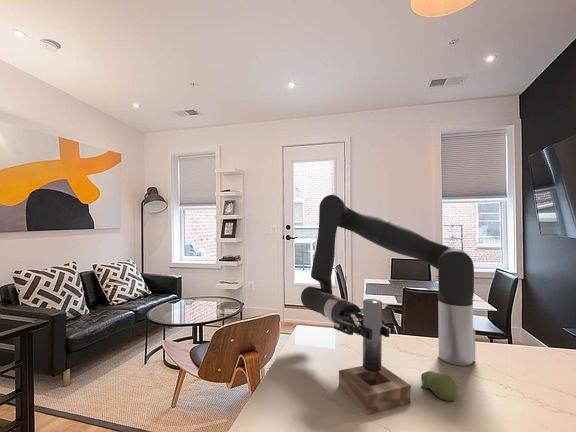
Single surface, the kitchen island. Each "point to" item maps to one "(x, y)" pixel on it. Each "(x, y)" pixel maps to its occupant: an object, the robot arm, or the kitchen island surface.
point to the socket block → (374, 388)
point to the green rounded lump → (440, 385)
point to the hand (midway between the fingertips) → (379, 334)
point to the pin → (373, 346)
